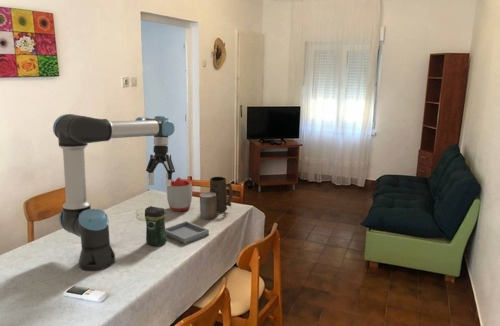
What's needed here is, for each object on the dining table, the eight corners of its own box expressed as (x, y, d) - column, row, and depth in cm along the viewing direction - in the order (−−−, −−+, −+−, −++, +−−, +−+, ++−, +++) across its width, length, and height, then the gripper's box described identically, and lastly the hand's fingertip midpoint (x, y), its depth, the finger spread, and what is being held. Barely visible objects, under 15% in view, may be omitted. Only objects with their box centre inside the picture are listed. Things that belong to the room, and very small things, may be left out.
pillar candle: (219, 214, 237) (218, 190, 234) (213, 220, 228) (212, 195, 224) (203, 213, 239) (202, 189, 236) (197, 219, 230) (196, 194, 227)
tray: (184, 244, 196) (184, 239, 195) (162, 234, 208) (162, 229, 207) (208, 235, 208) (208, 229, 207) (186, 226, 219) (186, 221, 219)
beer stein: (205, 210, 243) (207, 179, 238) (212, 205, 253) (213, 175, 248) (229, 215, 239) (231, 183, 234) (235, 209, 249) (237, 178, 244)
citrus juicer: (190, 202, 258) (189, 172, 254) (194, 211, 242) (193, 179, 237) (165, 205, 253) (164, 174, 249) (168, 214, 237) (167, 181, 233)
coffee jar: (169, 241, 200) (167, 206, 195) (159, 247, 192) (157, 211, 188) (153, 238, 203) (151, 203, 199) (143, 244, 196) (141, 208, 192)
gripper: (182, 145, 208) (181, 186, 207) (151, 146, 222) (150, 184, 222) (171, 144, 202) (170, 186, 201) (140, 145, 216) (139, 184, 216)
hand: (159, 185), depth 212 cm, fingers open, 13 cm apart
